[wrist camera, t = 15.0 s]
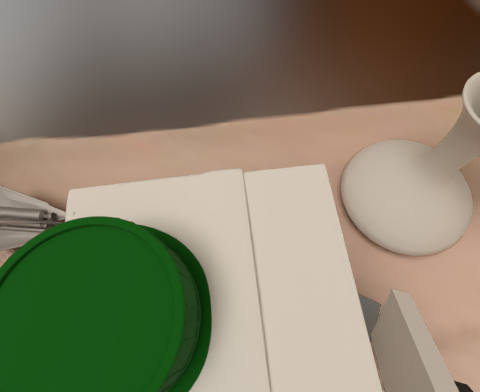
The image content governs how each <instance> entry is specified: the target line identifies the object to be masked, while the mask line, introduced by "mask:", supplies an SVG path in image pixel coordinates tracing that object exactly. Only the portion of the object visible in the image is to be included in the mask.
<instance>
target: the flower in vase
mask: <svg viewBox="0 0 480 392" xmlns="http://www.w3.org/2000/svg"><path fill="white" fill-rule="evenodd" d="M462 98H463V109H462V112H461V115H460V117H459V119H458V120H457V122H456V124H455V125H454V127H453V128H452V129H451V130H450V132H449V133H448V134H447V136H446V137H445V138H444V139H443V140H442V141H441V142H440V143H439V144H438V145H437V146H435V147H434V148H432V147H429V146H427V145H424V144H421V143H418V142H414V141H410V140H402V139H391V140H384V141H380V142H377V143H374V144H372V145H369V146H367V147H365V148H363V149H362V150H360V151H359V152H357V153H356V154H355V155H354V156H353V157H352V158H351V159H350V160H349V162H348V163H347V165H346V167H345V169H344V172H343V175H342V179H341V195H342V200H343V203H344V206H345V209H346V211H347V213H348V215H349V217H350V218H351V220H352V221H353V223H354V224H355V225H356V226H357V228H358V229H359V230H360V231H361V232H362V233H363V234H364V235H365V236H366V237H368V238H369V239H370V240H372V241H373V242H375V243H376V244H378V245H380V246H381V247H383V248H386V249H388V250H390V251H393V252H396V253H399V254H404V255H409V256H428V255H433V254H437V253H440V252H443V251H445V250H447V249H449V248H450V247H452V246H453V245H454V244H456V243H457V242H458V241H459V240H460V238H461V237H462V236H463V234H464V233H465V231H466V229H467V228H468V226H469V224H470V221H471V218H472V213H473V200H472V195H471V191H470V188H469V186H468V183H467V181H466V179H465V178H464V176H463V174H462V173H461V171H460V169H461V168H462V167H463V166H465V165H466V164H468V163H469V162H471V161H472V160H474V159H475V158H477V157H479V156H480V72H478V73H476V74H475V75H474V76H472V77H471V78H470V79H469V80H468V81H467V82H466V84H465V86H464V89H463V94H462Z"/></svg>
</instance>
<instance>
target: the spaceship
mask: <svg viewBox="0 0 480 392" xmlns="http://www.w3.org/2000/svg"><path fill="white" fill-rule="evenodd" d="M65 217H66V212H65V211H62V210H60V209H57V208H55V207H52V206H50V205H49V204H48V203H46V202H44V201H41V200H38V199H36V198H33V197H31V196H28V195H25V194H23V193H20V192H17V191H15V190H12V189H9V188H7V187H4V186H0V251H3V250H7V249H12V248H17V247H21V246H23V245H24V244H25V243H27V242H28V241H29V240H31V239H32V238H34V237H35V236H37V235H38V234H40V233H42V232H43V231H45V230H47V229H49V228H51V227H53V226H56V225H58V224H61V223H62V222H60V221H59V220H63V219H65Z"/></svg>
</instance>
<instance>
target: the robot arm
mask: <svg viewBox="0 0 480 392" xmlns="http://www.w3.org/2000/svg"><path fill="white" fill-rule="evenodd" d="M371 339H372V343H373V346H374V350H375V354H376V358H377V362H378V366H379V370H380V373H381V377H382V381H383V385H384V389H385V392H473V391H472V390H471V389H470V387H469V386H468V385H466V384H463V383H460V382H456V381H454V380H453V378H452V376H451V374H450V372H449V370H448V368H447V366H446V364H445V362H444V360H443V358H442V356H441V354H440V352H439V350H438V348H437V346H436V344H435V342H434V340H433V338H432V336H431V334H430V332H429V330H428V328H427V326H426V324H425V322H424V320H423V318H422V316H421V314H420V312H419V310H418V308H417V306H416V304H415V302H414V300H413V298H412V296H411V294H410V293H406V292H402V291H398V290H394V289H392V290H391V292H390V294H389V296H388V298H387V301H386V303H385V305H384V307H383V309H382V311H381V314H380V316H379V318H378V320H377V322H376V324H375V326H374V329H373V331H372V333H371Z"/></svg>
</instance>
